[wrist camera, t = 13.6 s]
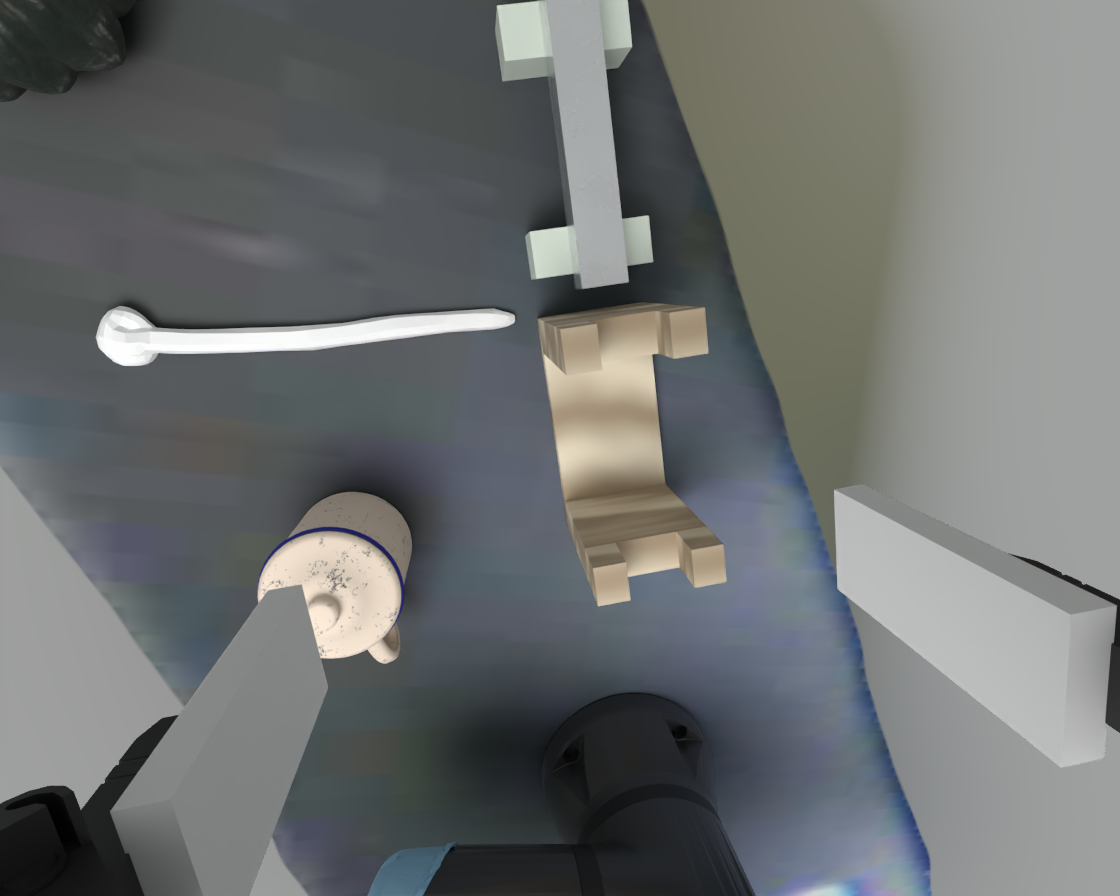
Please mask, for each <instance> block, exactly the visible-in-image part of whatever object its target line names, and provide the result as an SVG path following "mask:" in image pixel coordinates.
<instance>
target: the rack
mask: <svg viewBox="0 0 1120 896" xmlns="http://www.w3.org/2000/svg"><path fill="white" fill-rule="evenodd" d="M537 322H538V328H539V335H540V342H541V349H542V356H543V363H544V370H545V376H546V383H547V390H548V397H549V404H550V411H551V418H552V424H553V431H554V438H555V445H556V452H557V459H558V466H559V472H560V479H561V486H562V493H563V500H564V507H565V514H566V520H567V526H568V529H569V532H570V534H571V537H572V539H573V542H574V545H575V547H576V550H577V552H578V555H579V558H580V560H581V563H582V566H583V568H584V571H585V573H586V576H587V579H588V581H589V584H590V586H591V589H592V592H593V594H594V597H595V600H596V602H597V605H598V606H603V605H608V604H613V603H619V602H624V601H629V600H631V599H630V591H629V583H628V577H630V576H635V575H641V574H646V573H651V572H657V571H662V570H667V569H673V568H678V567H680V568H681V570H682V571H683V572H684V574H685V575H686V576H687V578H688V579H689V581H690V582H691V583H692V585H693V586H694V587H695V588H697V587H702V586H708V585H713V584H718V583H723V582H726V569H725V557H724V544H723V543H722V542H721V541H720V540H719V539H718V538H717V537H716V536H715V535H714V534H713V533H712V532H711V531H710V530H709V529H708V528H707V527H706V526H705V524H704V523H703V522H702V521H701V520H700V519H699V518H698V517H697V516H696V515H695V514H694V513H693V512H692V511H691V510H690V509H689V508H688V507H687V506H686V505H685V504H684V503H683V502H682V501H681V500H680V499H679V498H678V497H677V495H676V494H675V493H674V492H673V491H672V490H671V489H670V488H669V487H668V486H667V485H666V484H665V476H664V467H663V457H662V447H661V437H660V427H659V417H658V408H657V398H656V388H655V378H654V368H653V358H652V354H658V353H659V354H662V355H664V356H667V357H670V358H673V359H675V358H682V357H688V356H694V355H701V354H707V353H708V341H707V328H706V316H705V307H694V306H682V305H670V304H658V303H647V302H641V303H634V304H627V305H620V306H614V307H607V308H600V309H594V310H587V311H580V312H574V313H567V314H560V315H554V316H547V317H540V318H537Z"/></svg>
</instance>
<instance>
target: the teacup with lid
mask: <svg viewBox="0 0 1120 896" xmlns="http://www.w3.org/2000/svg"><path fill="white" fill-rule="evenodd" d="M411 553H412V539H411V534H410V530H409V527H408V525H407V523H406V521H405V520H404V518H403V516H402V515H401V514H400V513H399V512H398V510H397V509H396V508H394V507H393V506H392V505H391V504H389V503H388V502H387V501H385V500H383V499H381V498H379V497H377V496H374V495H371V494H367V493H362V492H344V493H339V494H335V495H332V496H329V497H327V498H325V499H323V500H321V501H320V502H318V503H317V504H315V505H314V506H313V507H312V508H311V509H310V510H309V511H308V512H307V513H306V515H305V516H304V517H303V518H302V520H301V521H300V522H299V524H298V525H297V526H296V528H295V529H294V530H293V532H292V533H291V534H290V536H289V537H288V538H287V540H285V541H284V542H282V543H281V544H280V545H279V546H278V547H277V548H276V549H275V550H274V551H273V552H272V553H271V554H270V556H269V557H268V558H267V560H266V562H265V563H264V566H263V568H262V570H261V573H260V576H259V581H258V603H259V602H260V601H261V599H262V598H263V597H264V595H265V594H266V592H267V591H268V590H273V589H278V588H284V587H289V586H295V585H301V584H302V587H303V591H304V595H305V599H306V603H307V607H308V611H309V615H310V619H311V623H312V627H313V630H314V634H315V638H316V642H317V646H318V650H319V654H320V658H342V657H347V656H352V655H355V654H358V653H360V652H363V651H365V650H367V649H368V651H369V652H370V653H371V655H372V656H373V657H374V658H375V659H376V660H377V661H379V662H381V663H389V662H391V661H393V660H395V659H396V658H397V657H398V655H399V652H400V635H399V630H398V626H397V623H396V622H397V620H398V618H399V615H400V613H401V610H402V606H403V601H404V583H405V579H406V574H407V570H408V566H409V562H410V558H411Z"/></svg>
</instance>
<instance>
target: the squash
mask: <svg viewBox="0 0 1120 896" xmlns="http://www.w3.org/2000/svg"><path fill="white" fill-rule="evenodd" d="M135 2H136V0H0V102H6V101H12V100H15V99H17V98H18V97H20V96H21V95H22V94H23V93H24V92H25V91H26V90H27V89H28V90H32V91H35V92H39V93H47V94H60V93H66V92H67V91H68V90H70V89H71V87H72V86H73V84H74V83H75V81H76V79H77V76H78V73H79V71H91V72H94V71H100V70H110V69H113V68H115V67H117V66H119V65H122V64H123V62H124V60H125V57H126V44H125V38H124V35H123V31H122V26H121V24H120V22H119V20H118V19H119V18H121V17H123V16H124V15H126V14H127V13H128V12H129V11H130V10H131V9H132V7H133V6H134V4H135Z"/></svg>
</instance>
